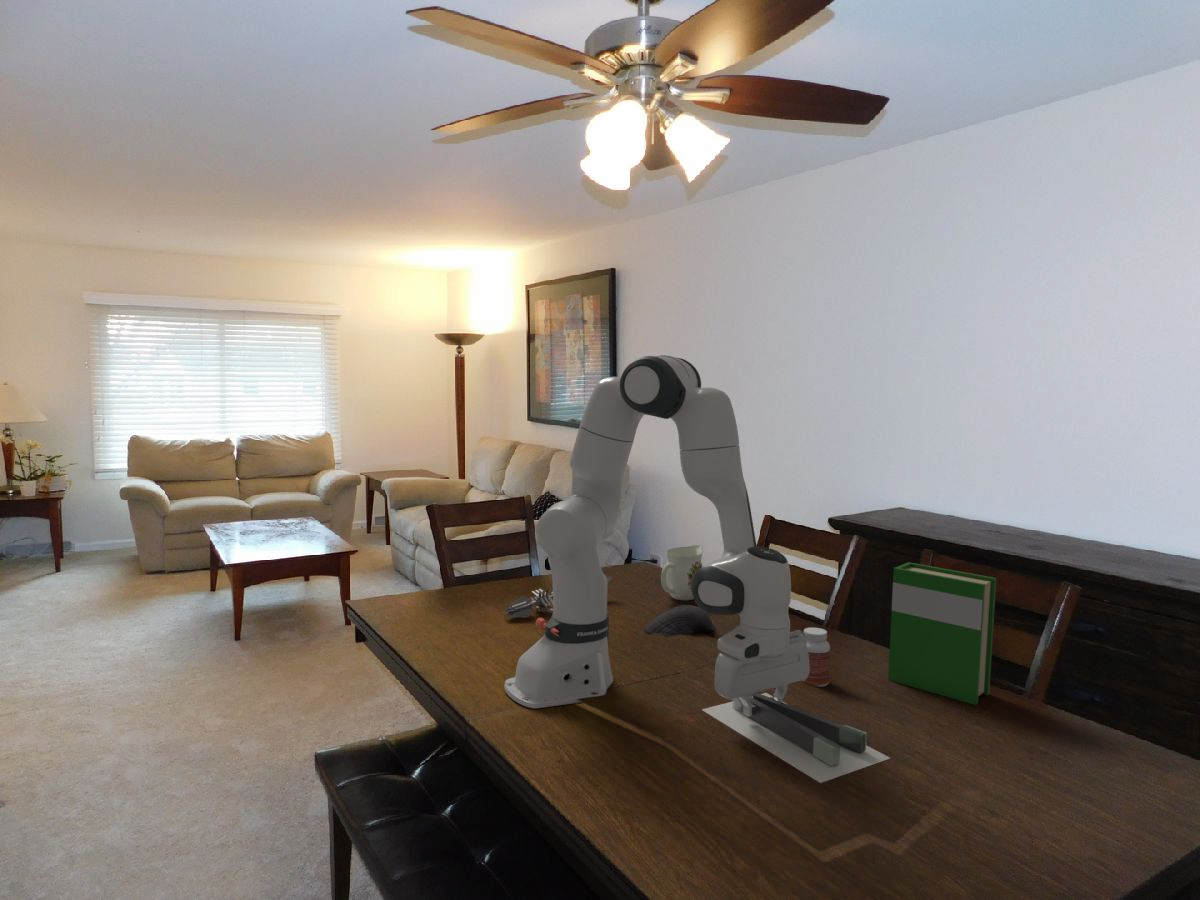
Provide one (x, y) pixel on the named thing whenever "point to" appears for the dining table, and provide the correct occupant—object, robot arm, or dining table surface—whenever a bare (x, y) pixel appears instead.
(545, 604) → the spaceship
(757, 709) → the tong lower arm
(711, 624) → the seashell
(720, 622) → the dining table surface
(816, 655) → the pill bottle
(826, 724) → the tong upper arm
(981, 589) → the hardback book
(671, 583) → the pitcher
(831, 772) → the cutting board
